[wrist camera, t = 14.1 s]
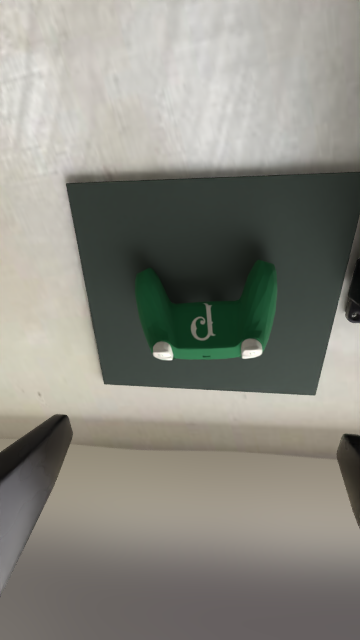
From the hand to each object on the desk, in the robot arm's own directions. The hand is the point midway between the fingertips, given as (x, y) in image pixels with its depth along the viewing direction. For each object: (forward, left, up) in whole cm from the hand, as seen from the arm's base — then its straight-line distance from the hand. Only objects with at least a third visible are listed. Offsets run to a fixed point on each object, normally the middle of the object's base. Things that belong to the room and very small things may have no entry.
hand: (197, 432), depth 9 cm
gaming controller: (0, 0, -12) cm, 12 cm away
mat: (0, 0, -12) cm, 12 cm away
